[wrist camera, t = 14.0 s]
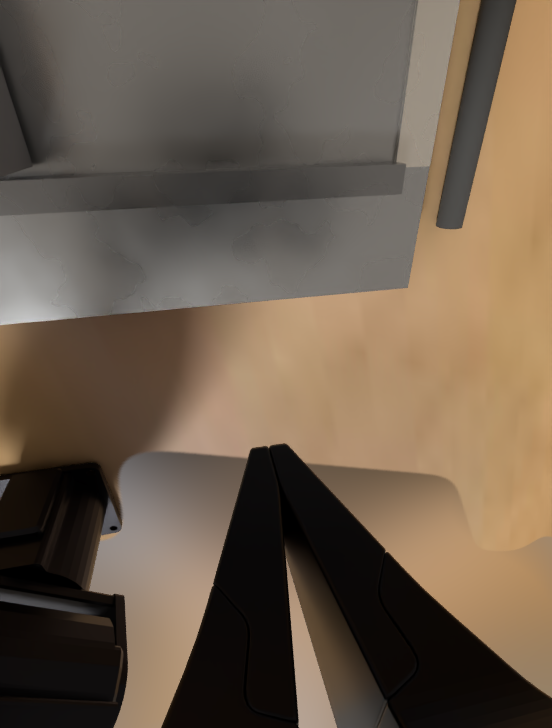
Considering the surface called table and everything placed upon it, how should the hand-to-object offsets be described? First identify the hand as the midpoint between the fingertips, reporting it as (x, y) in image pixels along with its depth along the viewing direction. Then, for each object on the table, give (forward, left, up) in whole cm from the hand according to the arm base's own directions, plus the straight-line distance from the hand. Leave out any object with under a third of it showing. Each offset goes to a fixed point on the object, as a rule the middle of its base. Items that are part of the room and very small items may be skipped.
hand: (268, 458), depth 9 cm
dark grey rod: (+8, -11, -12) cm, 18 cm away
